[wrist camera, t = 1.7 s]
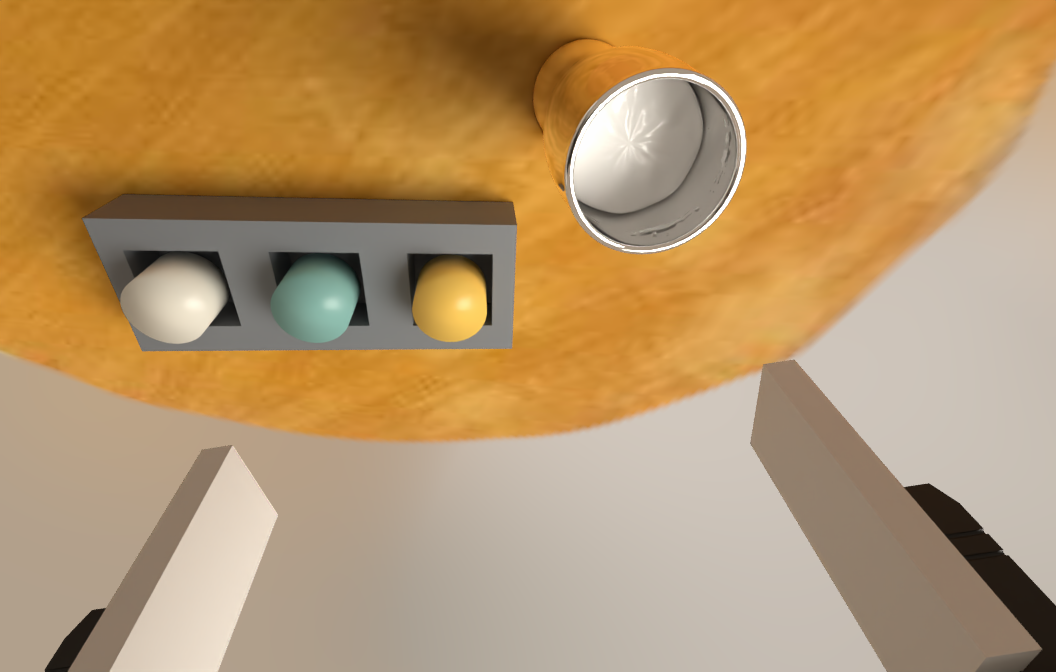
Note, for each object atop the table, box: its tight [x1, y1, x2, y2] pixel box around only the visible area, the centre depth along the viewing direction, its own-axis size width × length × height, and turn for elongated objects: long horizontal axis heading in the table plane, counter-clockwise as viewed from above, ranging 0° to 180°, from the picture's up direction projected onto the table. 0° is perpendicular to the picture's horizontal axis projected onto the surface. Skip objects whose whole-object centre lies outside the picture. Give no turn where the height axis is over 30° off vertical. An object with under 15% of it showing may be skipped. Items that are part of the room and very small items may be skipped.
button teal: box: [270, 253, 361, 343], centre depth 31 cm, size 4×4×3 cm
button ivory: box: [120, 251, 230, 344], centre depth 30 cm, size 4×4×3 cm
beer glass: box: [533, 39, 747, 254], centre depth 24 cm, size 7×7×15 cm
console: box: [82, 194, 517, 351], centre depth 34 cm, size 24×9×4 cm, turn 87°
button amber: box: [412, 254, 487, 342], centre depth 32 cm, size 4×4×3 cm
